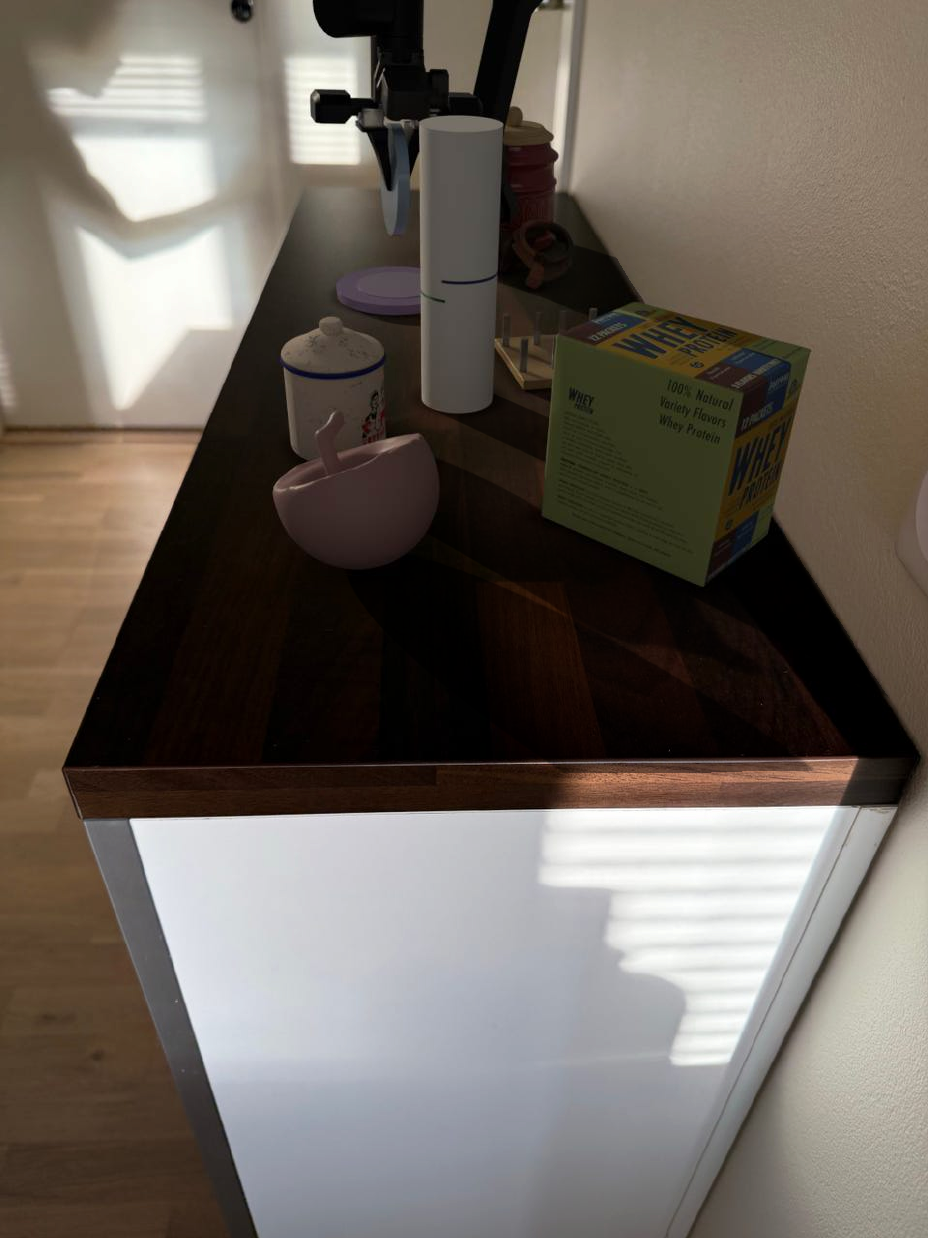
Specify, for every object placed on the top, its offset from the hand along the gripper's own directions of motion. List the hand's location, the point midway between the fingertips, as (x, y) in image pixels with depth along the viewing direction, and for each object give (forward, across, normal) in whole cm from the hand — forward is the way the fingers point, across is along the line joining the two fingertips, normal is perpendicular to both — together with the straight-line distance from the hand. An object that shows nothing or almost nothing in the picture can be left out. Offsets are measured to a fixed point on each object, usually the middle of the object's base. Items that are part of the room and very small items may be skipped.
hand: (396, 190), depth 114 cm
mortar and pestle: (+15, -13, -56) cm, 60 cm away
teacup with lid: (+14, -12, -36) cm, 41 cm away
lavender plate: (+13, 0, +2) cm, 13 cm away
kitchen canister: (+11, +20, +21) cm, 32 cm away
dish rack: (+13, +14, -23) cm, 30 cm away
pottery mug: (+12, +18, +5) cm, 22 cm away
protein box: (+14, +11, -57) cm, 60 cm away
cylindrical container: (+14, +1, -30) cm, 33 cm away
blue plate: (-1, 0, +1) cm, 1 cm away
